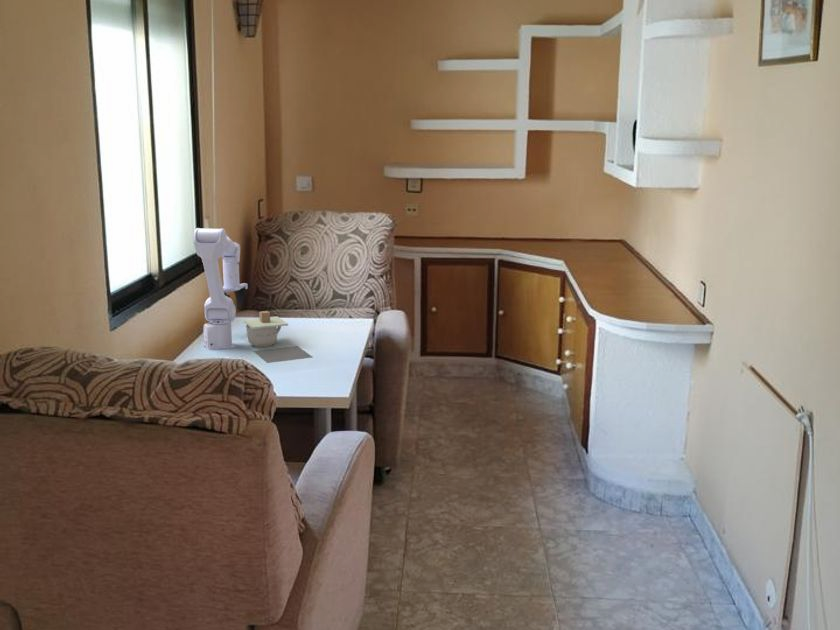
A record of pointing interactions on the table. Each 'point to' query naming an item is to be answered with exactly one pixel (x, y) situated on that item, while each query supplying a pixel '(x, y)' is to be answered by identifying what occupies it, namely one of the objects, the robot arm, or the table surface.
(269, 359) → the mat
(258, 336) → the teacup
